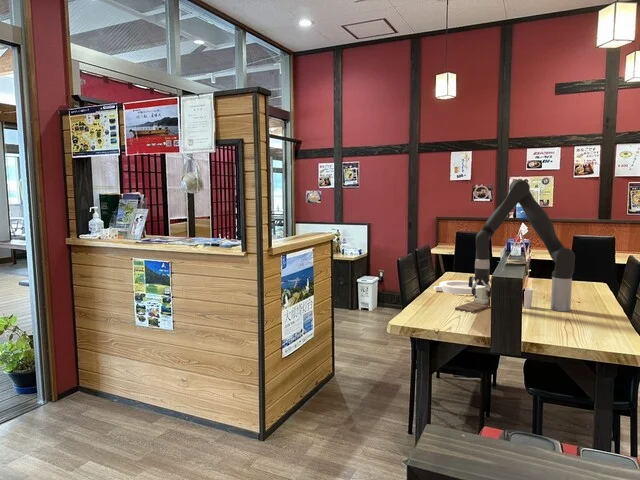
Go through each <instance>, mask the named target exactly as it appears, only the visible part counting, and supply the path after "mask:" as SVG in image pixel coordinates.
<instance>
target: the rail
mask: <svg viewBox="0 0 640 480" xmlns="http://www.w3.org/2000/svg"><path fill="white" fill-rule="evenodd" d="M475 298H477V295H476V296H474V299H475ZM490 298H491V297H490ZM490 298H488V297H487V296H486V299H489V300H488V303H486V304H480V303H474V300H473V301H469V302H467V303H463V304H460V305H458V306H455V307H454V310H455V311H458V310H460V311H459V312H463V311H465V312H464V313H468V312H471V313H470V314H475V313H477V312H476V311H478V312H480V311H482V310H481V309H483V308H486V307H488V306H490ZM488 308H489V307H488ZM486 309H487V308H486ZM479 310H480V311H479ZM483 310H484V309H483ZM474 312H475V313H474Z"/></svg>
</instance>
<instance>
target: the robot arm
mask: <svg viewBox="0 0 640 480" xmlns="http://www.w3.org/2000/svg"><path fill="white" fill-rule="evenodd" d="M518 204H519V205H520V207H521V208H522V210H523V212H524V214H525V216H526V219H527V221H528V222H529V224H530V225H531V226H532V227H531V228H532V229H533V230H534V231H535V233H536V234H537V236H538V237H539V239H540V241H542V243H543V244H544V246H545V248H546V250H547V252H548V254H549V256H550V257H551V259H552V261H553V262H554V264H555V265H554V270H553V271H552V273H551V297H550V310H553V311H557V312H570V311H571V307H572V306H571V304H572V288H573V287H572V286H573V285H572V284H573V281H572V280H573V274H574V272H575V263H576V262H575V261H576V255H575V253H574V251H573V250H572V249H571V248H568V247H566V246H564V244H563V243H562V242H561V240H560V239H559V237H558V235H557V233H556V229H555V227H554V224H553V222H552V220H551V218H550V217H549V215H548V213H547V212H546V211H545V210H544V208H543V207H542V206H541V205H540V204H539V203H538V201H536V199H535V198H534V196H533V195H532V193H531V186H530V184H529V183H528V181H526V180H523V179H518V178H517V179H515V180H513V181H512V182H511V183H510V184H509V192H508V194H507V196H506V197H505V198H504V200H503V201H502V203H500V205H498V207H497V208H496V209H495V210H494V211H493V212H492V213H491V215H490V216H489V217H488V219H487V220H486V222H485V224H484V225H483V227H481V229H480V231H479V232H477V234H476V235H475V249H476V250H475V261H474V276H473V275H471V276H469V277H468V281H469V285H468V286H469V287H471V288H472V294H473V295H476V286H477V285H481V286H485V287H486V288H487V290H486V292H487V293H486V294H487V296H486V297H488V298H492V291H491V279H492V278H490V240H491V238H492V237H493V235H494V234H495V233H496V231H497V230H498V229H499V228H500V227H501V226H502V224H503V223H504V222H505V220H506V219H507V218H508V216H509V215H510V213H511V212H512V211H513V209H514V208H515V207H516V206H517V205H518ZM473 282H475V283H474V284H473ZM476 296H477V295H476Z"/></svg>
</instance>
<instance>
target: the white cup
mask: <svg viewBox="0 0 640 480" xmlns="http://www.w3.org/2000/svg"><path fill="white" fill-rule="evenodd" d="M524 288H525V291H524V308H523V309H531V308H532V301H533V293H534V289H533V288H531V287H524Z"/></svg>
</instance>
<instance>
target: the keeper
mask: <svg viewBox="0 0 640 480" xmlns="http://www.w3.org/2000/svg"><path fill="white" fill-rule="evenodd" d="M486 292H487V290H486V288H481V287H480V288H477V295H476V296H477V298H475V297H474V298H473V301H474V303H480V304H486V303H488V300H489V299H486V297H487V296H486V294H487V293H486Z"/></svg>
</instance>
